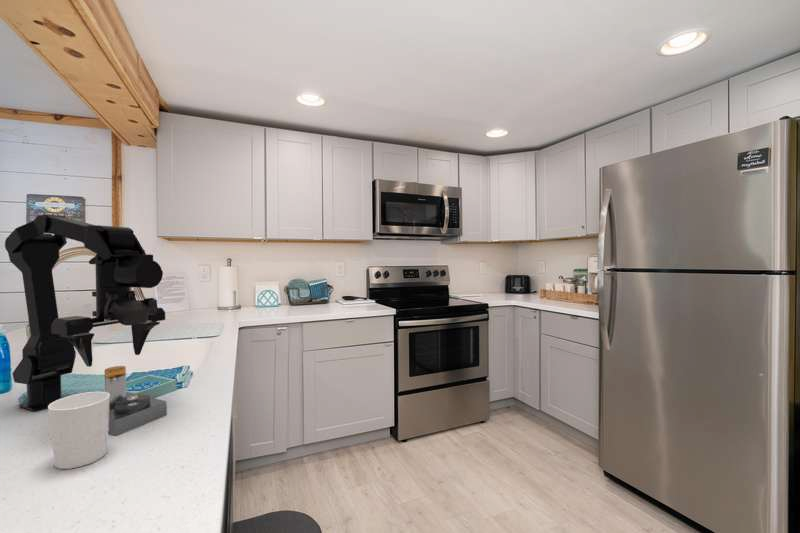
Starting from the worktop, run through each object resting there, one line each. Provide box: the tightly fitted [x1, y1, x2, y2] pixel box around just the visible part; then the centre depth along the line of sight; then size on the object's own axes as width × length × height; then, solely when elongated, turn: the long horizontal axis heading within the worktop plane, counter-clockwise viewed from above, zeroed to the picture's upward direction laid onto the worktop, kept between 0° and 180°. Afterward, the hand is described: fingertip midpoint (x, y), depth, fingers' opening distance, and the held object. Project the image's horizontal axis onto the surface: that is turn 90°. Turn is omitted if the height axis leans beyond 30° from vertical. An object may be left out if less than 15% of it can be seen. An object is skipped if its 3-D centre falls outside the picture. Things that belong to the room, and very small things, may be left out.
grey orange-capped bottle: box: [104, 365, 127, 410], centre depth 78 cm, size 4×4×10 cm
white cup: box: [47, 391, 110, 470], centre depth 62 cm, size 8×8×10 cm
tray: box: [126, 374, 178, 399], centre depth 91 cm, size 10×10×2 cm
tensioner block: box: [108, 393, 168, 437], centre depth 77 cm, size 12×10×5 cm
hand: (114, 360), depth 77 cm, fingers open, 9 cm apart
